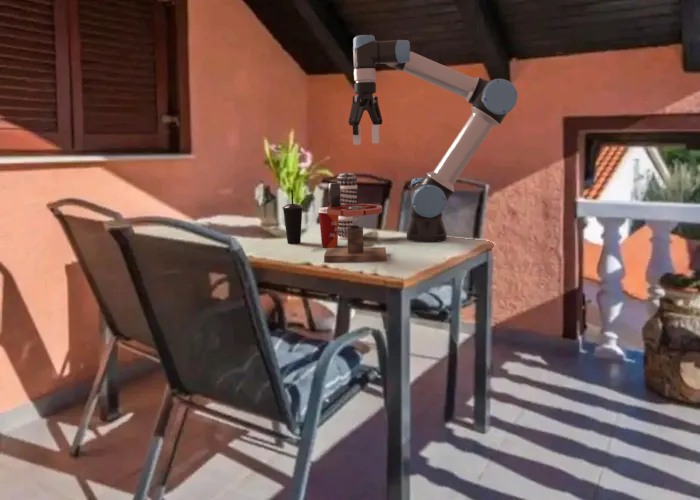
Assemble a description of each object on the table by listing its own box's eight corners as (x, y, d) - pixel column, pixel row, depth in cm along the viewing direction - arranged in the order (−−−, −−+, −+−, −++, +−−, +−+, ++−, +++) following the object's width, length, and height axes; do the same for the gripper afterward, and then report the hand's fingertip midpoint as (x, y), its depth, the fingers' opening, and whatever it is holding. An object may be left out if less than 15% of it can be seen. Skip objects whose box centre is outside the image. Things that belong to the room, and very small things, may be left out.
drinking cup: (285, 241, 256) (283, 188, 252) (305, 241, 255) (303, 188, 252) (282, 244, 248) (280, 191, 244) (303, 244, 248) (301, 190, 244)
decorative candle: (343, 240, 255) (342, 174, 250) (332, 237, 263) (330, 173, 258) (364, 238, 259) (363, 173, 254) (352, 235, 267) (351, 172, 262)
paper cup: (337, 248, 239) (336, 209, 236) (316, 248, 240) (315, 209, 238) (342, 244, 246) (341, 206, 244) (322, 244, 248) (321, 206, 245)
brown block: (385, 253, 229) (385, 224, 227) (386, 261, 215) (386, 230, 213) (327, 253, 230) (326, 224, 228) (324, 262, 216) (323, 231, 214)
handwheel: (330, 225, 230) (329, 182, 227) (382, 225, 229) (382, 181, 226) (325, 234, 213) (324, 187, 210) (381, 233, 211) (380, 186, 209)
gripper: (372, 83, 245) (374, 142, 249) (337, 81, 224) (339, 145, 228) (391, 82, 241) (392, 142, 245) (356, 80, 220) (358, 145, 224)
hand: (366, 144), depth 236 cm, fingers open, 13 cm apart
